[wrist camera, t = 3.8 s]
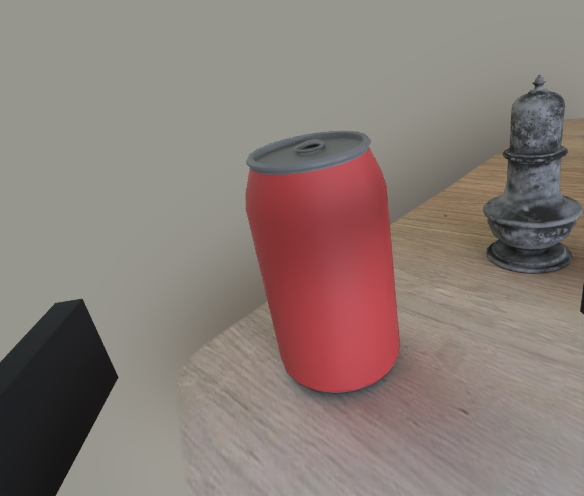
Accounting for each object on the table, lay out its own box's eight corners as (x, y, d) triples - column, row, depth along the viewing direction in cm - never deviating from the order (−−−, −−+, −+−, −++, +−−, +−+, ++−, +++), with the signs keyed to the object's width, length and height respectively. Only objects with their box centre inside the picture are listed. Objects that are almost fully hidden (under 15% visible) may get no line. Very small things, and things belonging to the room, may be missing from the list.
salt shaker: (519, 229, 34) (528, 67, 29) (597, 253, 29) (624, 63, 24) (464, 254, 32) (463, 85, 27) (537, 285, 27) (554, 84, 22)
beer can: (397, 318, 26) (380, 121, 21) (404, 400, 20) (384, 155, 15) (293, 323, 28) (254, 139, 23) (273, 400, 22) (214, 177, 17)
